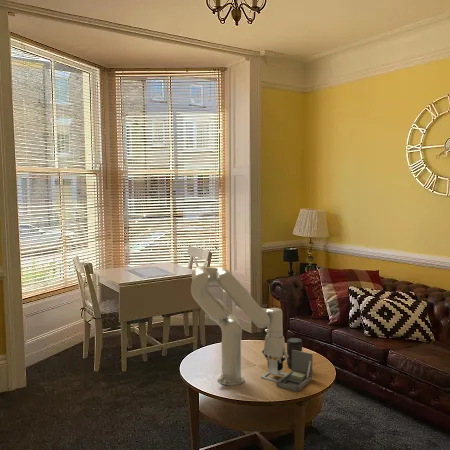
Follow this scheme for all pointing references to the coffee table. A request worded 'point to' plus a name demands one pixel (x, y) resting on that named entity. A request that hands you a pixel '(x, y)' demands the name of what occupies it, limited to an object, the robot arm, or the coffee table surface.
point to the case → (300, 364)
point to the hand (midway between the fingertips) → (275, 368)
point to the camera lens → (293, 345)
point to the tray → (272, 379)
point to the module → (273, 366)
